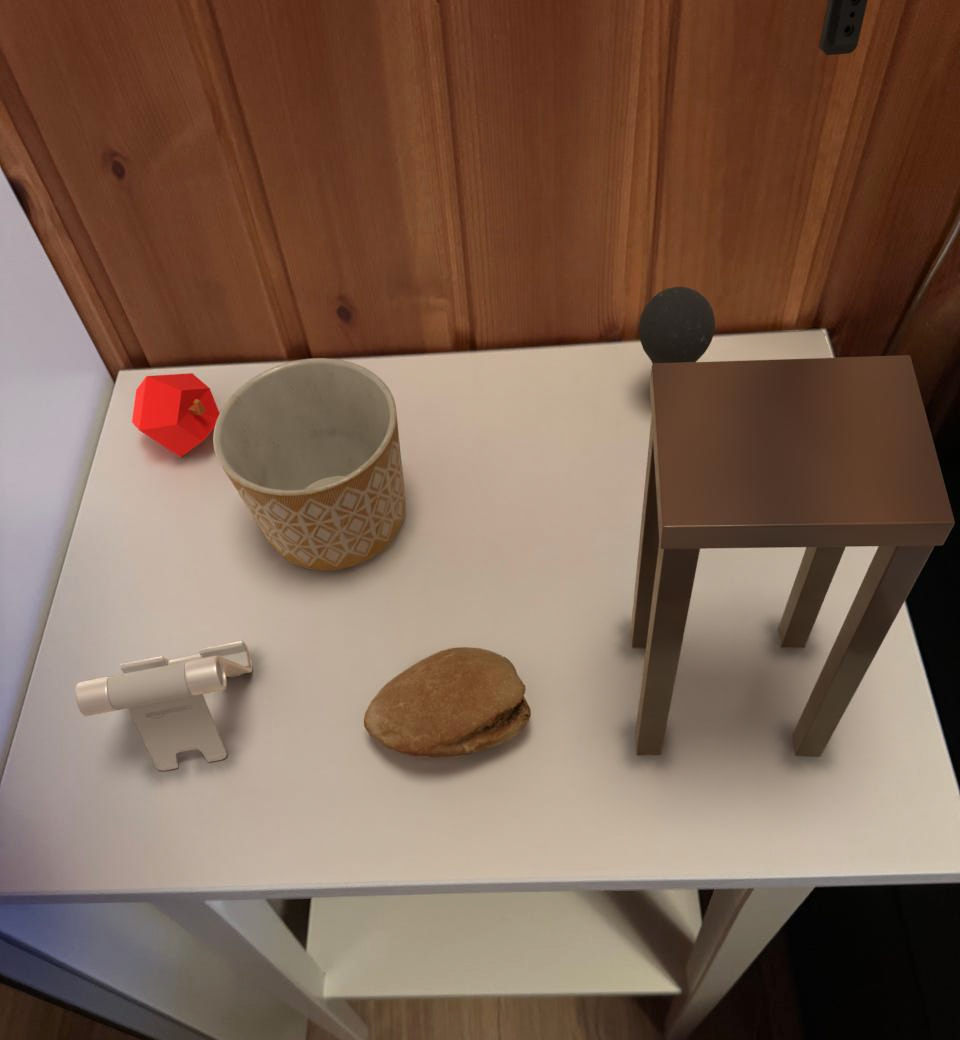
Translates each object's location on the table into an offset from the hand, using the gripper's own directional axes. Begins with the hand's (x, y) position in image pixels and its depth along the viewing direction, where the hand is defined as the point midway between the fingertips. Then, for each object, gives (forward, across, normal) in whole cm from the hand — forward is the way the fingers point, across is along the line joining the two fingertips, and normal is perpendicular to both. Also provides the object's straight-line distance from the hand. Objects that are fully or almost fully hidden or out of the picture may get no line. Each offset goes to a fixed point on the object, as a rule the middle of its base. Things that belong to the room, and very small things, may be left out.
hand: (810, 33), depth 61 cm
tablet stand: (+32, -24, +46) cm, 61 cm away
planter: (+28, -9, +35) cm, 46 cm away
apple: (+27, +2, +47) cm, 54 cm away
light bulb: (+25, -3, +7) cm, 26 cm away
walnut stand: (+30, -29, +11) cm, 43 cm away
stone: (+32, -27, +28) cm, 51 cm away
